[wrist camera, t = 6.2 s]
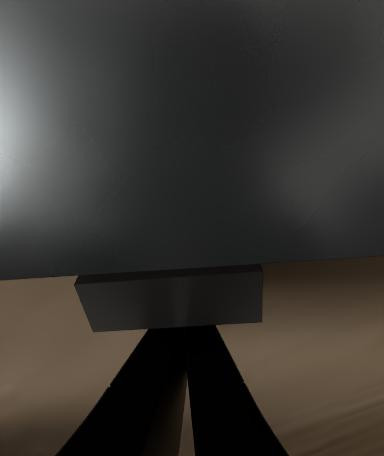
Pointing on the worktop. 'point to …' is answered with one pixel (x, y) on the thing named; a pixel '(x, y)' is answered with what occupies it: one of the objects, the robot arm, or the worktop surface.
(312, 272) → the worktop surface
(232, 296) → the plug
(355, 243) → the housing
